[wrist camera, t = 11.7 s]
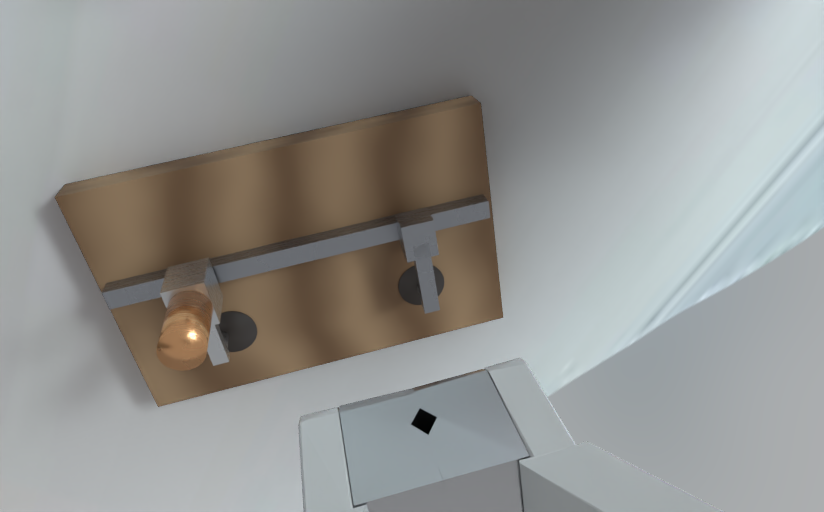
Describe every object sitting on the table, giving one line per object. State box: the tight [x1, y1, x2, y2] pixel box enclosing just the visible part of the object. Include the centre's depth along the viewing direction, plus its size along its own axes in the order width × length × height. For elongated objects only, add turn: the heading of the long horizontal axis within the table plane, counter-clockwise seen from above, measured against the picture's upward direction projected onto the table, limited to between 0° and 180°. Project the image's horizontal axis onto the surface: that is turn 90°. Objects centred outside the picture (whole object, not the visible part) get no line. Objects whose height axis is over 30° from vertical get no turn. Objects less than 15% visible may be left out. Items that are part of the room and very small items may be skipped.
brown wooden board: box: [55, 96, 503, 407], centre depth 40 cm, size 25×16×2 cm, turn 99°
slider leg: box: [156, 257, 230, 371], centre depth 35 cm, size 2×7×8 cm, turn 9°
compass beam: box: [102, 194, 490, 314], centre depth 38 cm, size 24×6×3 cm, turn 99°
